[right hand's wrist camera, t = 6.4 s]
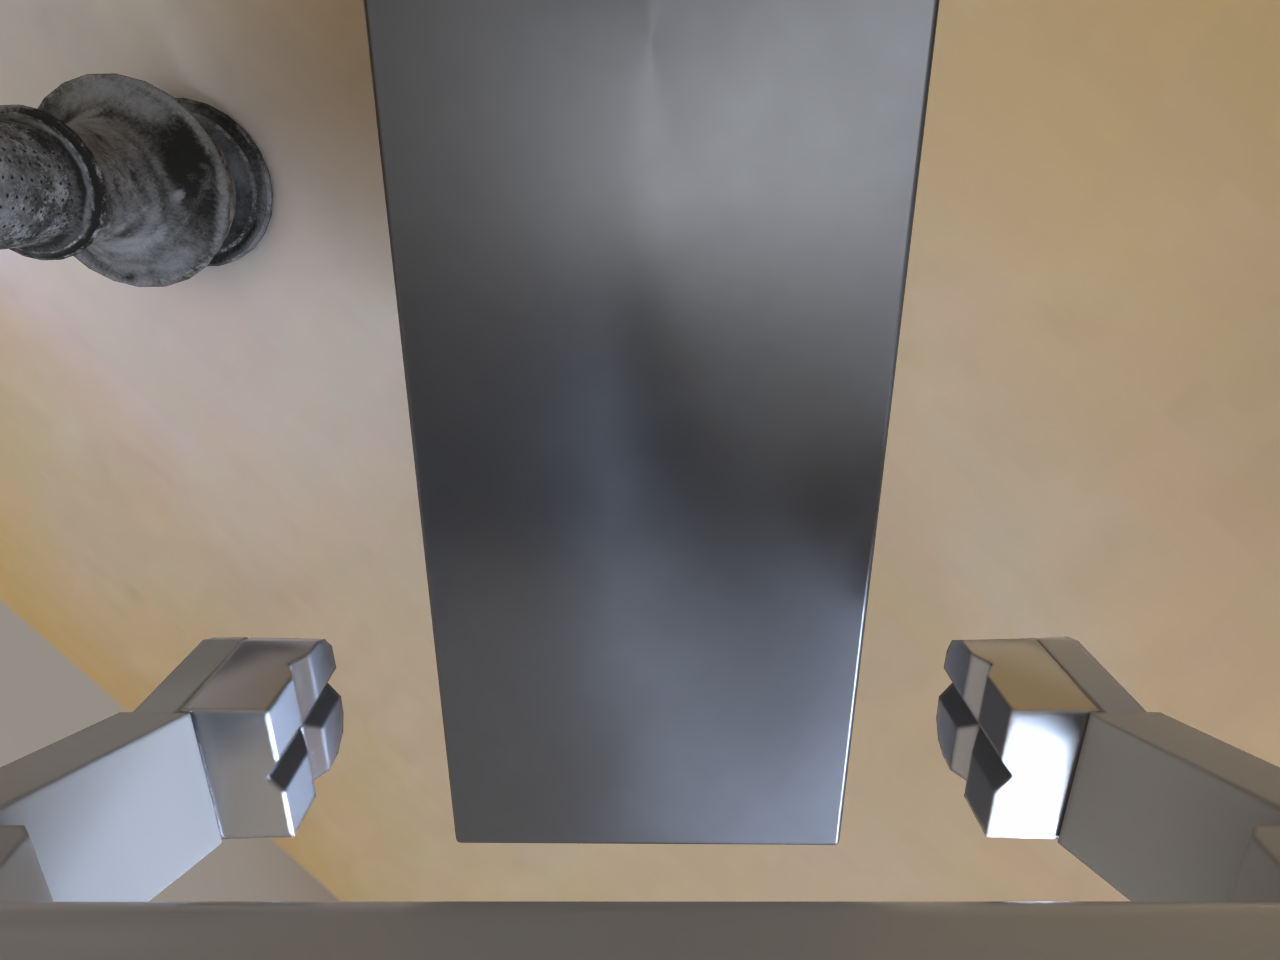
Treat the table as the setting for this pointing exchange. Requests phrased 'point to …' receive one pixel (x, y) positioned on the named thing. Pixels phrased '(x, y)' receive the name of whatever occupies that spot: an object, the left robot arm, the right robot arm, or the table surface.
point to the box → (649, 393)
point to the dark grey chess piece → (129, 182)
